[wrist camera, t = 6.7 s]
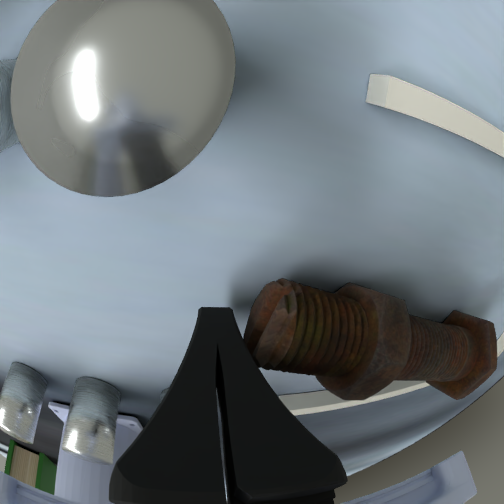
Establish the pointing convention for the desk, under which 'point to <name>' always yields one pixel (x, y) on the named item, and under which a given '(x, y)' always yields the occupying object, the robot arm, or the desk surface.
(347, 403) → the tray rim
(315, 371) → the bolt
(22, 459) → the hardback book
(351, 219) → the desk surface
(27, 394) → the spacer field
